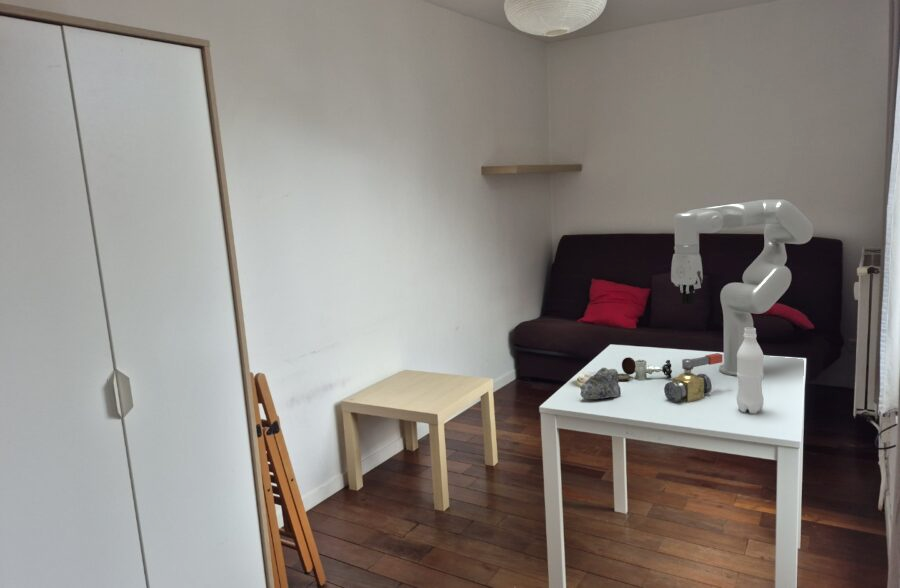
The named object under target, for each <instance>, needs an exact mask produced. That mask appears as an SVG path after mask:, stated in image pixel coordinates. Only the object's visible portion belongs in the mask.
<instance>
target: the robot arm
mask: <svg viewBox="0 0 900 588" xmlns="http://www.w3.org/2000/svg"><path fill="white" fill-rule="evenodd" d="M761 225H765V226H764V229H763V237H764V244H763V245H764V247H763V250H762V251H761V253H760V254H759V255H758V256H757V257H756V258H755V259H754V260H753V261H752V262H751V264H750V265H749V266H748V267H746V269H745V270H744V272H743V274H742V282H730V283H727V284H726V285H724V286H723V288H721V291H720V295H719V297H720V304H721V308H722V315H723V316H722V317H723V364H721V365H720V366H719V367H718V370H719V372H720V373H722V374H725V375H728V376H729V375H730V376H737V352H738V350H739V348H740V346H741V345H742V343H743V341H744V333H745V332H744V330H745V328H747V327H753V328H754V320H753V316H752V314H756V315H758V314H759V315H760V314H765V313H766V312H767V311H769V310H770V309H771V308H772V307H773V306H774V304H775V303H776V302H777V301H778V300H779V299H780V298H781V297H782V296H783V295H784V294H785V293H786V291H787V290H788V289H789V287H790V285H791V284H792V283H791V282H792V272H791V270H790V268H788V266H786V265H785V264H786V263H787V259H788V255H787V250H786V245H785V244H789V245H790V244H792V245H793V244H794V245H804V244H806V243H808V242H810V241H811V239H812V237H813V235H814V227H813V225H812V223H811V221H810V220H809V219H808V218H807V217H806V216H805V215H804V214H803V213H802V211H800V210H799V209H798V207H796V206H795V205H794V204H792V203H791V202H790V201H788V200H786V199H758V200H752V201H744V202H737V203H730V204H724V205H719V206H709V207H702V208H696V209H695V208H694V209H691V210H688V211H686V212H679V213H676V214H675V215H674V246H673V250H674V253H673V255H672V260H671V267H670V269H671V270H670V280H671V283H673V284H674V286H675V287H678V288H679V290H680V293H681V296H682V297H681V303H682V305H683V306H691V305H693V304H694V293H695V291H696V290H697V289H701V288H702V285H701V284H702V283H703V277H704V276H703V264H702V257H701V254H700V233H701V234H702V233H704V234H706V233H707V234H712V233H713V234H714V233H716V232H718V231H720V230H721V229H722V230H723V229H724V230H725V229H726V230H727V229H728V230H730V229H731V230H734V229H735V230H737V229H738V230H739V229H744V228H749V227H755V226H761Z"/></svg>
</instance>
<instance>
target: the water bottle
mask: <svg viewBox="0 0 900 588" xmlns="http://www.w3.org/2000/svg"><path fill="white" fill-rule="evenodd" d="M756 330H757V328H755V327H754V326H753V327H747V328H745V330H744V332H745V333H744V341H743V343H742V345H741V346H740V348H739V350H738V352H737V380H738V389H737V393H736V404H737V406H738V409H739V410H740V412H742V413H746V412H747V411H748V412H749V413H750V414H752V415H753V414H757V413H758V412H759V413H760V412H761V411H762V410H763V406H764V395H763V387H762V385H763V378H764V375H765V373H764V357H765V356H764V353H763V350H762V348H761V346H760V344H759V343H758V341H757V336H758V335H757V331H756Z"/></svg>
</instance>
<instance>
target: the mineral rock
mask: <svg viewBox="0 0 900 588" xmlns="http://www.w3.org/2000/svg"><path fill="white" fill-rule="evenodd" d="M618 374H619V371H618V370H617V369H615V368H610V369H608V368H607V367H601V368H600V369H599V370H597V372H596V373H595V374H593V375H592V376H590V377H588V379H587V380H586V381H585V382H584V383H583V384H582V385H581V386H580V387H579V389H580V396H581V398H582V399H588V400H600V399H601V400H602V399H606V398H618V397H620V396H621V385H619V381H618V380H619V378H618Z"/></svg>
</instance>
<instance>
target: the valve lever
mask: <svg viewBox="0 0 900 588" xmlns="http://www.w3.org/2000/svg"><path fill="white" fill-rule="evenodd" d="M681 361H682V362H681V364H682V369H683V370H684V369H686V370H691V371H692V370H693V369H694V368H698V367H702V366H711V365H716V364H721V363H723V354H722V353H718V352H717V353H716V352H715V353H711V354H706V355H705V356H701V357H695V358H684V359H682V360H681Z"/></svg>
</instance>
